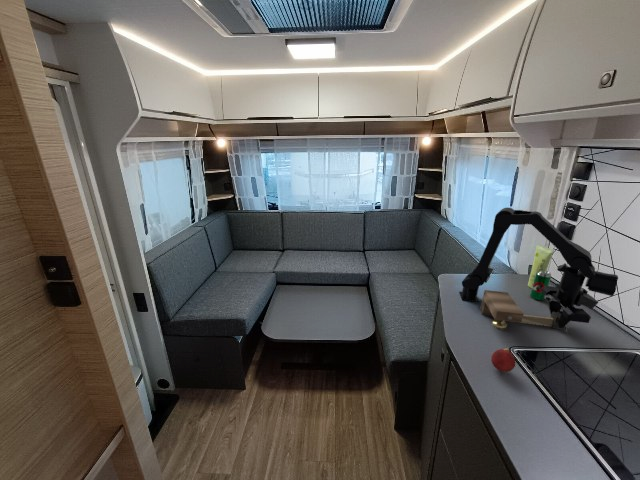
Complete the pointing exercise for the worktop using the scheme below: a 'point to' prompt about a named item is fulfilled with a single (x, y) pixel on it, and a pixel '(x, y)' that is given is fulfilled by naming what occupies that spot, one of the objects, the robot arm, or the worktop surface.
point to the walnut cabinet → (500, 306)
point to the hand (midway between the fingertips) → (557, 323)
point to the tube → (540, 261)
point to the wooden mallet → (542, 320)
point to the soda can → (540, 284)
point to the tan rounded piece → (499, 324)
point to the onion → (503, 360)
